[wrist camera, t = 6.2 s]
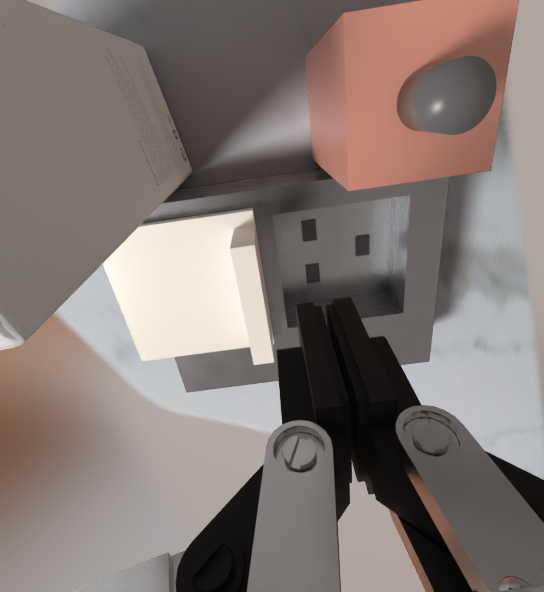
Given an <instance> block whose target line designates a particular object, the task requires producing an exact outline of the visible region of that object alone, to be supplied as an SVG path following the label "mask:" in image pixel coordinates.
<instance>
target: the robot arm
mask: <svg viewBox="0 0 544 592" xmlns="http://www.w3.org/2000/svg"><path fill="white" fill-rule="evenodd" d="M296 314H297V323H298V331H299V340H300V347H293V348H285V349H278V350H277V363H278V376H279V388H280V401H281V414H282V425H281V426H280V427H279V428H277V429H276V430H275V431H274V432H273V433H272V435H271V436H270V438H269V440H268V443H267V446H266V452H265V460H264V464H263V465H262V466H261V467H260V469H259V470H258V471H257V472H256V473H255V474H254V475H253V476H252V477H251V478H250V479H249V481H248V482H247V483H246V484H245V485H244V486H243V487H242V488H241V489H240V490H239V491H238V492H237V494H236V495H235V496H234V497H233V498H232V499H231V500H230V501H229V502H228V503H227V504H226V505H225V507H224V508H223V509H222V510H221V511H220V512H219V513H218V514H217V515H216V516H215V518H214V519H213V520H212V521H211V522H210V523H209V524H208V525H207V526H206V527H205V528H204V529H203V531H202V532H201V533H200V534H199V535H198V536H197V537H196V538H195V539H194V540H193V541H192V543H191V544H190V545H189V547H188V548H187V549H186V551H183V552H181V553H178V554H175V555H173V556H170V554H169V553H166V554H163V555H161V556H158V557H155V558H153V559H150V560H148V561H145V562H143V563H140V564H137V565H135V566H132V567H129V568H127V569H124V570H121V571H119V572H116V573H114V574H111V575H108V576H106V577H103V578H100V579H98V580H95V581H93V582H90V583H88V584H85V585H82V586H79V587H77V588H75V589H73V590H72V591H70V592H341V580H340V560H339V540H338V520H339V519H340V517H341V516H342V514H343V513H344V511H345V510H346V508H347V507H348V505H349V504H350V490H349V489H350V487H349V483H352V463H353V466H354V470H355V474H356V477H357V481H358V482H362V481H365V483H366V486H367V490H368V494H375V496H376V500H377V501H379V502H380V503H381V504H383V505H385V506H386V507H387V508H389V511H390V514H391V517H392V520H393V522H394V524H395V526H396V528H397V531H398V533H399V535H400V537H401V539H402V541H403V543H404V545H405V548H406V550H407V552H408V554H409V556H410V558H411V561H412V563H413V565H414V567H415V569H416V572H417V574H418V576H419V578H420V580H421V582H422V584H423V587H424V589H425V591H426V592H544V480H542V479H540V478H538V477H536V476H534V475H532V474H530V473H528V472H526V471H524V470H522V469H520V468H518V467H516V466H514V465H512V464H510V463H508V462H506V461H504V460H502V459H500V458H498V457H496V456H494V455H492V454H490V453H488V452H486V451H484V450H483V448H482V447H481V446H480V445H479V443H478V442H477V441H476V440H475V439H474V437H473V436H472V435H471V434H470V432H469V431H468V430H467V429H466V428H465V426H464V425H463V424H462V423H461V422H460V421H459V420H458V419H457V418H456V417H455V416H453V415H452V414H450V413H448V412H447V411H445V410H443V409H440V408H437V407H434V406H426V405H421V404H420V402H419V400H418V398H417V396H416V394H415V392H414V390H413V388H412V386H411V384H410V383H409V381H408V379H407V377H406V375H405V373H404V371H403V369H402V367H401V365H400V364H399V362H398V360H397V358H396V356H395V354H394V352H393V350H392V348H391V346H390V344H389V343H388V341H387V339H386V338H385V337H384V336H378V337H370V338H369V336H368V333H367V331H366V329H365V327H364V325H363V322H362V320H361V318H360V316H359V314H358V311H357V309H356V307H355V305H354V303H353V301H352V299H351V297H346V298H339V299H332V304H329V305H326V320H327V324H326V321H325V318H324V314H323V311H322V308H321V306H314V303H313V302H309V303H301V304H296ZM351 459H352V460H351Z"/></svg>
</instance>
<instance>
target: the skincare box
mask: <svg viewBox="0 0 544 592" xmlns="http://www.w3.org/2000/svg"><path fill="white" fill-rule="evenodd" d="M191 173H192V169H191V166H190V163H189V161H188V158H187V155H186V153H185V150H184V148H183V145H182V142H181V140H180V137H179V135H178V132H177V130H176V127H175V124H174V122H173V119H172V117H171V114H170V112H169V109H168V107H167V104H166V102H165V99H164V97H163V94H162V92H161V89H160V87H159V84H158V81H157V79H156V76H155V74H154V71H153V69H152V66H151V64H150V61H149V59H148V56H147V53H146V51H145V49H144V47H143V46H141V45H139V44H137V43H134V42H132V41H129V40H127V39H124V38H122V37H119V36H116V35H113V34H111V33H108V32H106V31H103V30H101V29H98V28H96V27H93V26H91V25H88V24H86V23H83V22H80V21H78V20H75V19H73V18H70V17H68V16H65V15H63V14H60V13H57V12H55V11H52V10H49V9H47V8H44V7H42V6H39V5H36V4H34V3H31V2H28V1H26V0H0V350H3V349H8V348H13V347H16V346H18V345H21V344H23V343H24V342H25V341H26V340H27V339H28V338H29V337H30V336H31V335H32V334H33V333H34V332H35V331H36V330H37V329H38V328H39V327H40V326H41V325H42V324H43V323H44V322H45V321H46V320H47V319H48V318H49V317H50V316H51V315H52V314H53V313H54V312H55V311H56V310H57V309H58V308H59V307H60V306H61V305H62V304H63V303H64V302H65V301H66V300H67V299H68V298H69V297H70V296H71V295H72V294H73V293H74V292H75V291H76V290H77V289H78V288H79V287H80V286H81V285H82V284H83V283H84V282H85V281H86V280H87V279H88V278H89V277H90V276H91V275H92V274H93V273H94V272H95V271H96V270H97V269H98V268H99V267H100V266H101V265H102V264H103V263H104V262H105V261H106V260H107V258H108V257H109V256H110V255H111V254H112V253H113V252H114V251H115V250H116V249H117V248H118V247H119V246H120V245H121V244H122V243H123V242H124V241H125V240H126V239H127V238H128V237H129V236H130V235H131V234H132V233H133V232H134V231H135V230H136V229H137V228H138V227H139V226H140V225H141V224H142V223H143V222H144V221H145V220H146V219H147V218H148V217H149V216H150V215H151V214H152V213H153V212H154V211H155V210H156V209H157V208H158V207H159V206H160V205H161V204H162V203H163V202H164V201H165V200H166V199H167V198H168V197H169V196H170V195H171V194H172V193H173V192H174V191H175V190H176V189H177V187H178V186H179V185H180V184H181V183H182V182H183V181H184V180H185V179H186V178H187V177H188V176H189V175H190V174H191Z"/></svg>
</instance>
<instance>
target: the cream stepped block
mask: <svg viewBox="0 0 544 592" xmlns="http://www.w3.org/2000/svg"><path fill="white" fill-rule="evenodd" d="M103 266H104V268H105V271H106V273H107V276H108V278H109V281H110V283H111V285H112V288H113V290H114V293H115V295H116V298H117V300H118V303H119V305H120V308H121V310H122V313H123V315H124V318H125V320H126V323H127V325H128V328H129V330H130V333H131V335H132V338H133V340H134V342H135V345H136V347H137V350H138V352H139V355H140V357H141V360H142V361H148V360H155V359H163V358H171V357H178V356H186V355H193V354H201V353H209V352H216V351H224V350H231V349H239V348H247V347H250V349H251V354H252V359H253V364H254V365H259V364H266V363H274V350H273V344H274V337H273V331H272V324H271V318H270V312H269V306H268V300H267V293H266V287H265V281H264V275H263V269H262V262H261V256H260V250H259V244H258V238H257V232H256V225H255V219H254V213H253V208H246V209H240V210H233V211H226V212H219V213H212V214H205V215H198V216H191V217H184V218H177V219H170V220H163V221H157V222H150V223H143V224H141V225H140V226H139V227H138V228H137V229H136V230H135V231H134V232H133V233H132V234H131V235H130V236H129V237H128V238H127V239H126V240H125V241H124V242H123V243H122V244H121V245H120V246H119V247H118V248H117V249H116V250H115V251H114V252H113V253H112V254H111V255H110V256H109V257H108V258H107V260H106V261H105V262H104V263H103Z"/></svg>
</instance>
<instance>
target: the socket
mask: <svg viewBox="0 0 544 592" xmlns="http://www.w3.org/2000/svg"><path fill="white" fill-rule="evenodd" d="M448 186H449V177H444V178H437V179H430V180H423V181H416V182H409V183H402V184H395V185H388V186H381V187H374V188H367V189H361V190H354V191H347V190H346V189H345V188H344V187H343V186H342V185H341V184H340V183H338V182H337V181H336V180H335V179H334V178H333V177H332V176H330V175H329V174H328V173H327V172H326V171H325V170H324V169H317V170H311V171H304V172H297V173H290V174H283V175H277V176H270V177H263V178H256V179H249V180H243V181H236V182H229V183H222V184H216V185H209V186H202V187H195V188H188V189H182V190H175V191H174V192H173V193H172V194H171V195H170V196H169V197H168V198H167V199H166V200H165V201H164V202H163V203H162V204H161V205H160V206H159V207H158V208H157V209H156V210H155V211H154V212H153V213H152V214H151V215H150V216H149V217H148V218H147V219H146V220H145V221H144V222H143V223H150V222H157V221H163V220H170V219H177V218H184V217H191V216H198V215H205V214H212V213H219V212H226V211H233V210H240V209H246V208H253V213H254V219H255V225H256V232H257V238H258V244H259V250H260V256H261V262H262V269H263V275H264V281H265V287H266V293H267V300H268V306H269V312H270V318H271V324H272V331H273V337H274V344H273V350H274V363H266V364H259V365H254V364H253V359H252V354H251V349H250V347H247V348H239V349H231V350H224V351H216V352H209V353H201V354H193V355H186V356H178V357H175V360H176V363H177V366H178V369H179V372H180V374H181V377H182V380H183V383H184V386H185V389H186V392H194V391H202V390H210V389H218V388H225V387H233V386H241V385H249V384H257V383H265V382H272V381H279V376H278V363H277V350H278V349H285V348H293V347H300V340H299V331H298V323H297V314H296V304H301V303H309V302H313V303H314V306H321V308H322V311H323V314H324V318H325V321H326V324H327V320H326V305H329V304H332V299H339V298H346V297H351V299H352V301H353V303H354V305H355V307H356V309H357V311H358V314H359V316H360V318H361V320H362V322H363V325H364V327H365V329H366V331H367V333H368V336H369V338H370V337H378V336H384V337H385V338H386V339H387V341H388V343H389V344H390V346H391V348H392V350H393V352H394V354H395V356H396V358H397V360H398V362H399V364H400V365H405V364H413V363H421V362H429V359H430V350H431V341H432V332H433V323H434V314H435V304H436V295H437V286H438V277H439V268H440V259H441V250H442V240H443V231H444V222H445V213H446V204H447V195H448ZM143 223H142V224H143Z"/></svg>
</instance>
